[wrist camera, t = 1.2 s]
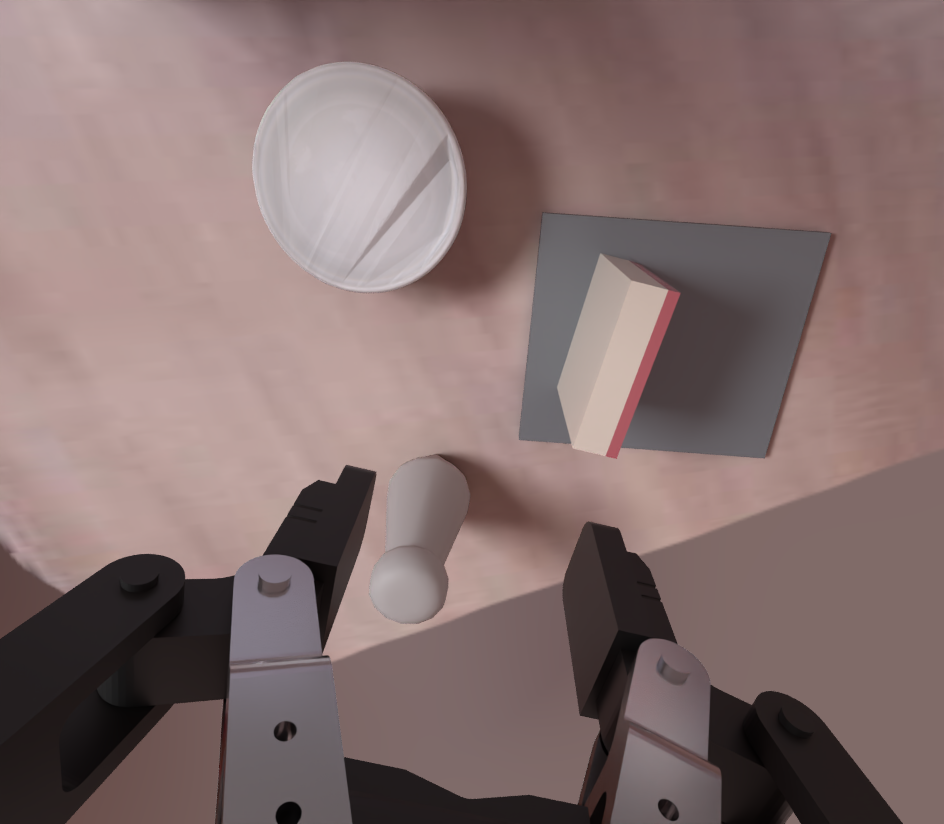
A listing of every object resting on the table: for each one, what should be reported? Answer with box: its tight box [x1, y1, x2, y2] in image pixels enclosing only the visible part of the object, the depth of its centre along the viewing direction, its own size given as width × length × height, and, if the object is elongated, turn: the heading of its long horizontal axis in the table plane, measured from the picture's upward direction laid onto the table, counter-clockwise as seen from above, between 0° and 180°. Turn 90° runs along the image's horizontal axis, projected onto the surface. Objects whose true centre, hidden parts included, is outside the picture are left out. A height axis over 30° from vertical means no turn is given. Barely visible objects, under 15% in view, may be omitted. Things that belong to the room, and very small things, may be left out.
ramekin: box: [252, 62, 467, 293], centre depth 32 cm, size 11×11×5 cm
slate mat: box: [519, 212, 831, 458], centre depth 37 cm, size 15×17×1 cm
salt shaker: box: [369, 454, 470, 624], centre depth 37 cm, size 6×6×13 cm
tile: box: [557, 253, 681, 459], centre depth 33 cm, size 2×9×9 cm, turn 166°
